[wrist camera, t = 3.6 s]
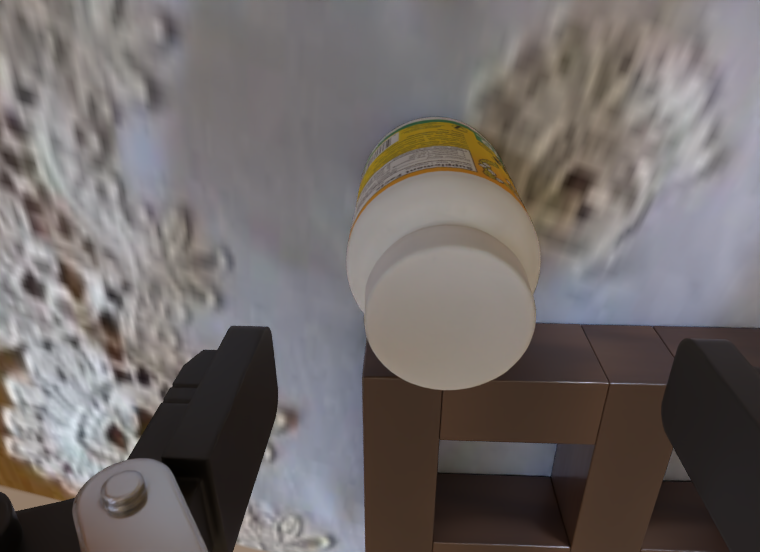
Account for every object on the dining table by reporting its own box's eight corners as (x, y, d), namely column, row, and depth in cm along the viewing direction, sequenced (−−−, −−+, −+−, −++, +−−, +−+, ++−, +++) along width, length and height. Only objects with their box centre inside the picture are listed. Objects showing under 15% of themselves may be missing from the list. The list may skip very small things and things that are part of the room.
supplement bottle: (351, 124, 21) (313, 228, 12) (501, 104, 20) (570, 199, 12) (373, 257, 23) (353, 420, 15) (506, 242, 23) (566, 404, 14)
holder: (370, 511, 30) (365, 583, 27) (368, 319, 25) (361, 377, 21) (778, 526, 29) (829, 601, 26) (871, 330, 24) (953, 392, 20)
